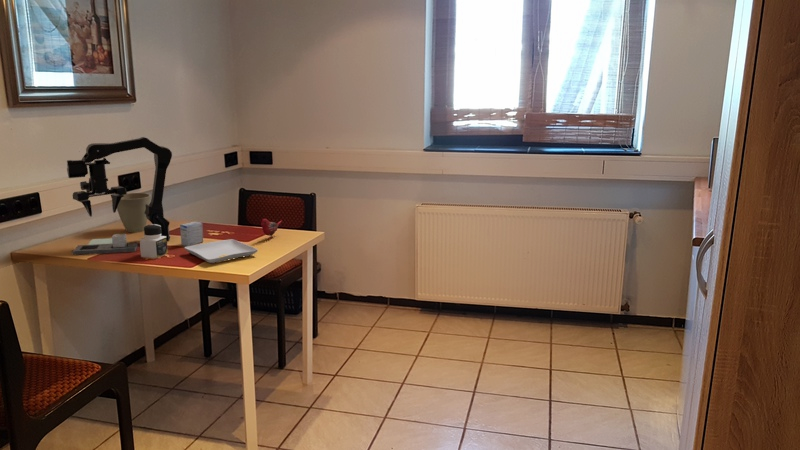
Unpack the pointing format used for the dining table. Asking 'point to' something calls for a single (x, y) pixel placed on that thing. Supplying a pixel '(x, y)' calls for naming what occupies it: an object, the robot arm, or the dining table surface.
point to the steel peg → (119, 241)
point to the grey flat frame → (103, 249)
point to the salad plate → (221, 250)
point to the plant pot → (133, 211)
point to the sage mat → (100, 241)
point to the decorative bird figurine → (269, 227)
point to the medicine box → (191, 233)
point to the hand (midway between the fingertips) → (102, 214)
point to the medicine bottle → (153, 242)
